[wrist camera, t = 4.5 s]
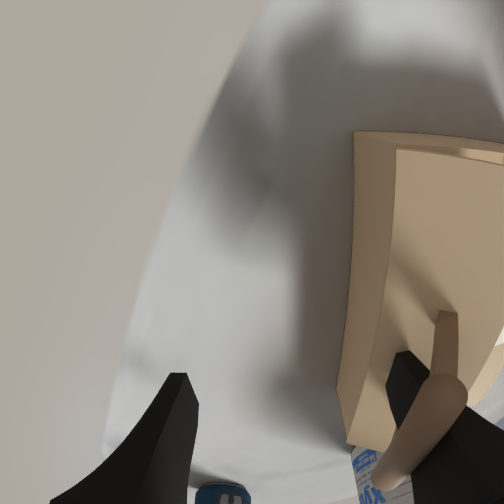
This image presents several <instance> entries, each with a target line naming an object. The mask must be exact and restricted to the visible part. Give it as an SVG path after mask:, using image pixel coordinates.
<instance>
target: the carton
mask: <svg viewBox="0 0 504 504" xmlns="http://www.w3.org/2000/svg"><path fill="white" fill-rule="evenodd" d="M353 142H354V216H353V241H352V258H351V272H350V285H349V296H348V306H347V315H346V324H345V332H344V340H343V348H342V355H341V361H340V368H339V374H338V380H337V386H336V391H337V395H338V399H339V404H340V408H341V412H342V417H343V421H344V425H345V430H346V435H347V437H348V434H349V431H350V428H351V425H352V422H353V419H354V416H355V413H356V410H357V407H358V403H359V400H360V396H361V393H362V389H363V386H364V382H365V379H366V375H367V371H368V367H369V363H370V359H371V355H372V350H373V346H374V342H375V337H376V332H377V328H378V323H379V318H380V312H381V307H382V301H383V295H384V289H385V283H386V276H387V269H388V262H389V254H390V246H391V236H392V226H393V214H394V200H395V181H396V149H397V148H405V149H414V150H422V151H430V152H437V153H444V154H450V155H456V156H462V157H468V158H473V159H479V160H484V161H489V162H494V163H498V164H503V165H504V144H502V143H496V142H490V141H483V140H477V139H469V138H461V137H452V136H443V135H432V134H419V133H402V132H375V131H353ZM503 365H504V327H503V329H502V331H501V333H500V335H499V338H498V340H497V342H496V344H495V346H494V348H493V350H492V352H491V354H490V356H489V357H488V359H487V361H486V363H485V365H484V367H483V368H482V370H481V372H480V374H479V375H478V377H477V379H476V381H475V382H474V384H473V386H472V387H471V389H470V390H469V392H468V401H467V404H466V405H467V406H468V407H471V406H473V405H476V404H478V403H480V401H481V400H482V398H483V397H484V395H485V394H486V392H487V391H488V389H489V388H490V386H491V385H492V383H493V382H494V380H495V379H496V377H497V375H498V374H499V372H500V370H501V369H502V367H503Z"/></svg>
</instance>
